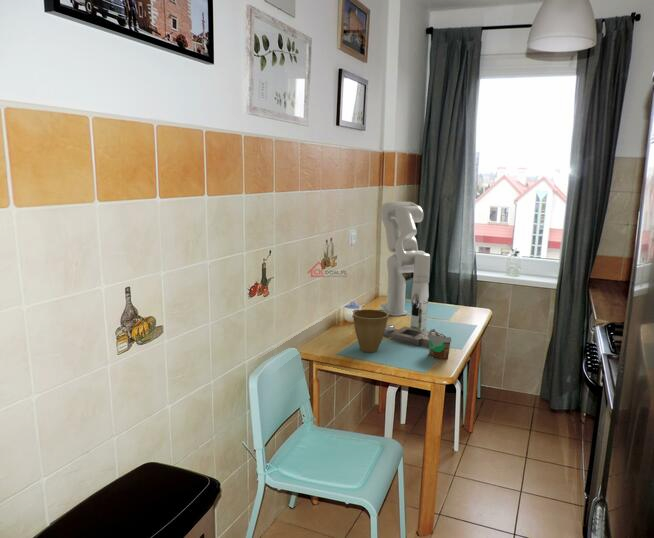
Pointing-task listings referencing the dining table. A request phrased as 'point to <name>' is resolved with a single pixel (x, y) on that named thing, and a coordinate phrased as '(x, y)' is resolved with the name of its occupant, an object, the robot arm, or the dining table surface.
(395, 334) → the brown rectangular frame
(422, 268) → the robot arm
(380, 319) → the plant pot
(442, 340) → the food container
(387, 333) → the plate with dome knob
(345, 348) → the dining table surface
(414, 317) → the syrup box
